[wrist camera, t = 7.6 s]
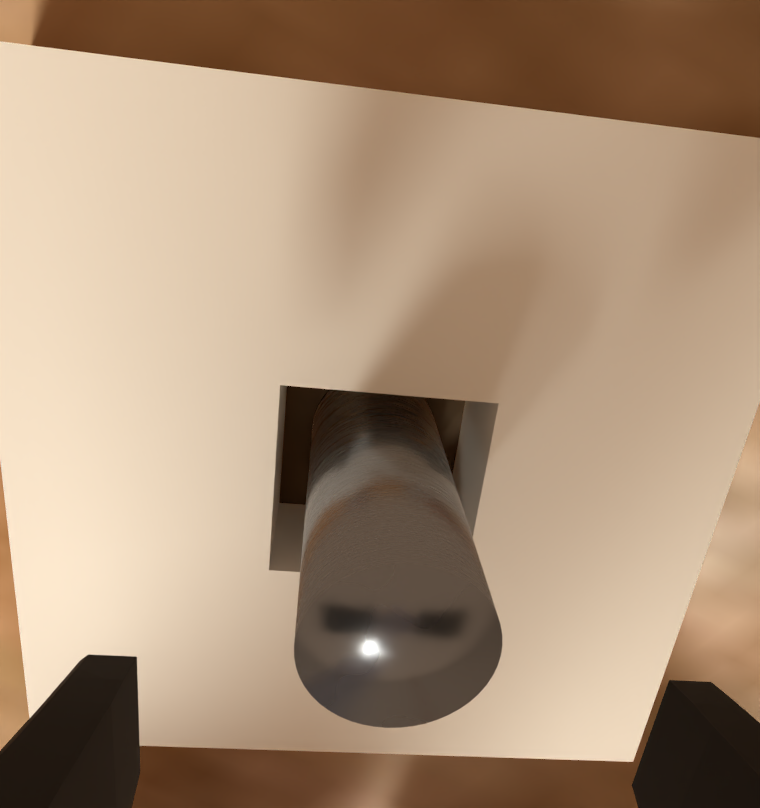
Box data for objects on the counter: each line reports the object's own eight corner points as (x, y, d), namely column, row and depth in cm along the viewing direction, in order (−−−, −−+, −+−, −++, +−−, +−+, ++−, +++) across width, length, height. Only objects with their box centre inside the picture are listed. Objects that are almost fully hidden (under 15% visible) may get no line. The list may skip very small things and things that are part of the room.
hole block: (595, 679, 21) (632, 761, 19) (74, 656, 20) (32, 742, 17) (757, 144, 15) (848, 149, 13) (28, 52, 14) (-48, 35, 11)
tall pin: (425, 487, 18) (483, 731, 11) (308, 479, 18) (287, 724, 11) (442, 378, 17) (520, 570, 10) (317, 367, 17) (301, 557, 10)
